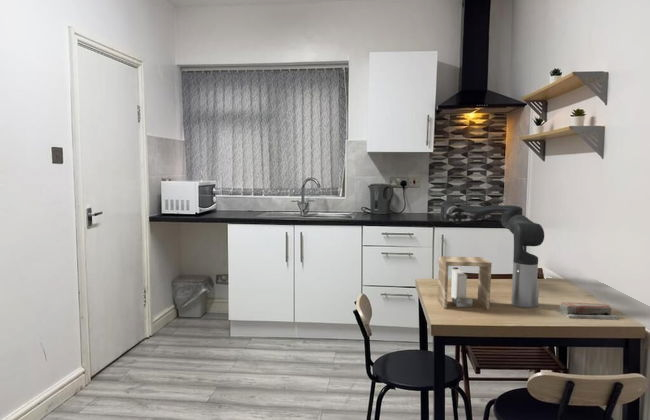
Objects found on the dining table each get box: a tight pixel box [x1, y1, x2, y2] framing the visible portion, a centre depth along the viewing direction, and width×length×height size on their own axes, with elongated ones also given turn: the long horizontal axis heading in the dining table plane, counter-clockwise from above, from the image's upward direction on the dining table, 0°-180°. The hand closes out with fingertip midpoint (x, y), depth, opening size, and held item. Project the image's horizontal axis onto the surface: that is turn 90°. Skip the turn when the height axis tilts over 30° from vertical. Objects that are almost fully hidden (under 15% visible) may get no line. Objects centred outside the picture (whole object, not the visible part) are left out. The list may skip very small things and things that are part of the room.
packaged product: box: [556, 301, 619, 320], centre depth 181 cm, size 18×5×10 cm
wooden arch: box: [437, 256, 492, 311], centre depth 191 cm, size 18×12×18 cm
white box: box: [450, 268, 468, 299], centre depth 198 cm, size 3×12×12 cm, turn 179°
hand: (464, 218), depth 215 cm, fingers open, 8 cm apart
